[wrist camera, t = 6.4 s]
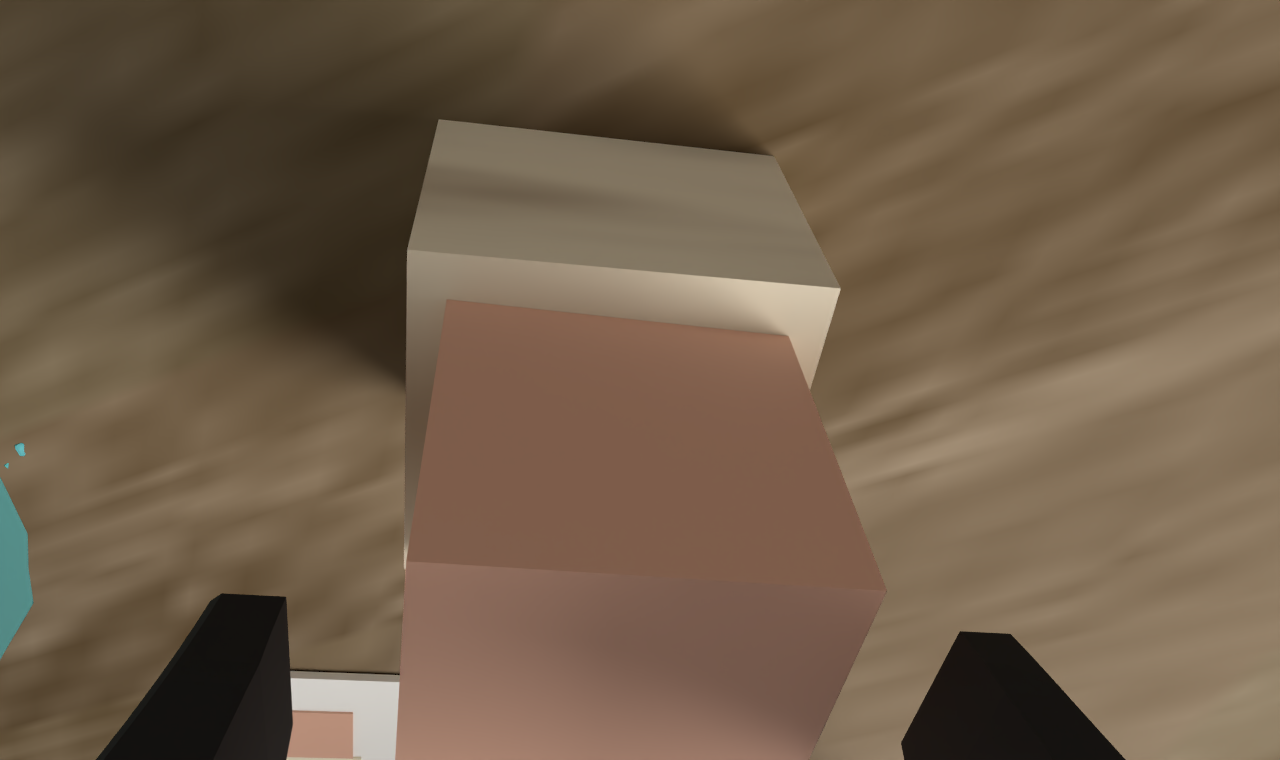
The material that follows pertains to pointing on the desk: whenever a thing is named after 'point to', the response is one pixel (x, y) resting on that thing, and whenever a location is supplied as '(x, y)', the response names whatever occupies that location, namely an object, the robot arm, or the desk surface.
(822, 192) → the desk surface
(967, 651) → the robot arm
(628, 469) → the terracotta cube
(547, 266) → the birch base block
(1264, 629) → the desk surface
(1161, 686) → the desk surface
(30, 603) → the teal plastic funnel
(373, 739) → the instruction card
